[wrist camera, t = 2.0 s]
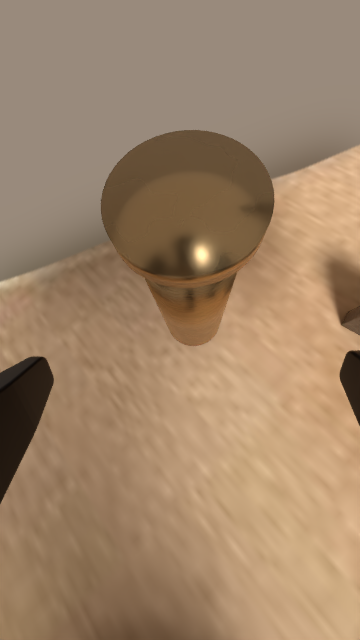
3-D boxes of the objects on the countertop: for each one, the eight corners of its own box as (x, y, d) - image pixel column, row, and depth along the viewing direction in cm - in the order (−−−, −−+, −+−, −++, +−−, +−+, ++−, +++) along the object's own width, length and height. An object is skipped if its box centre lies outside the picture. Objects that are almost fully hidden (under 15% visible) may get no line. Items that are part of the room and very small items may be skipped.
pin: (200, 364, 19) (204, 311, 6) (150, 326, 20) (66, 215, 7) (237, 313, 19) (308, 177, 7) (187, 279, 20) (171, 107, 8)
